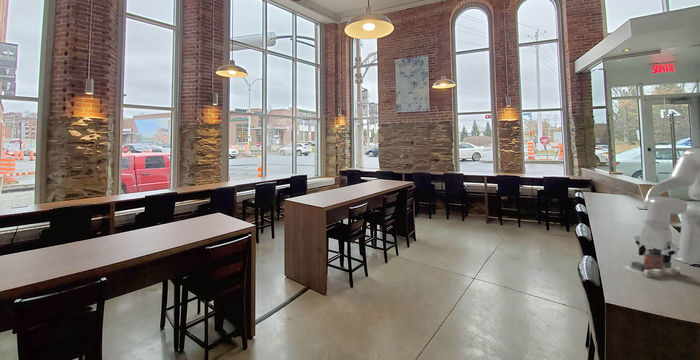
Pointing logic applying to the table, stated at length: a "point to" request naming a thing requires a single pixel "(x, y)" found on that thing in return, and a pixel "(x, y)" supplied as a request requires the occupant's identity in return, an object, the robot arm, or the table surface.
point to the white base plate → (653, 270)
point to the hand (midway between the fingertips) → (653, 258)
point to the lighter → (653, 259)
